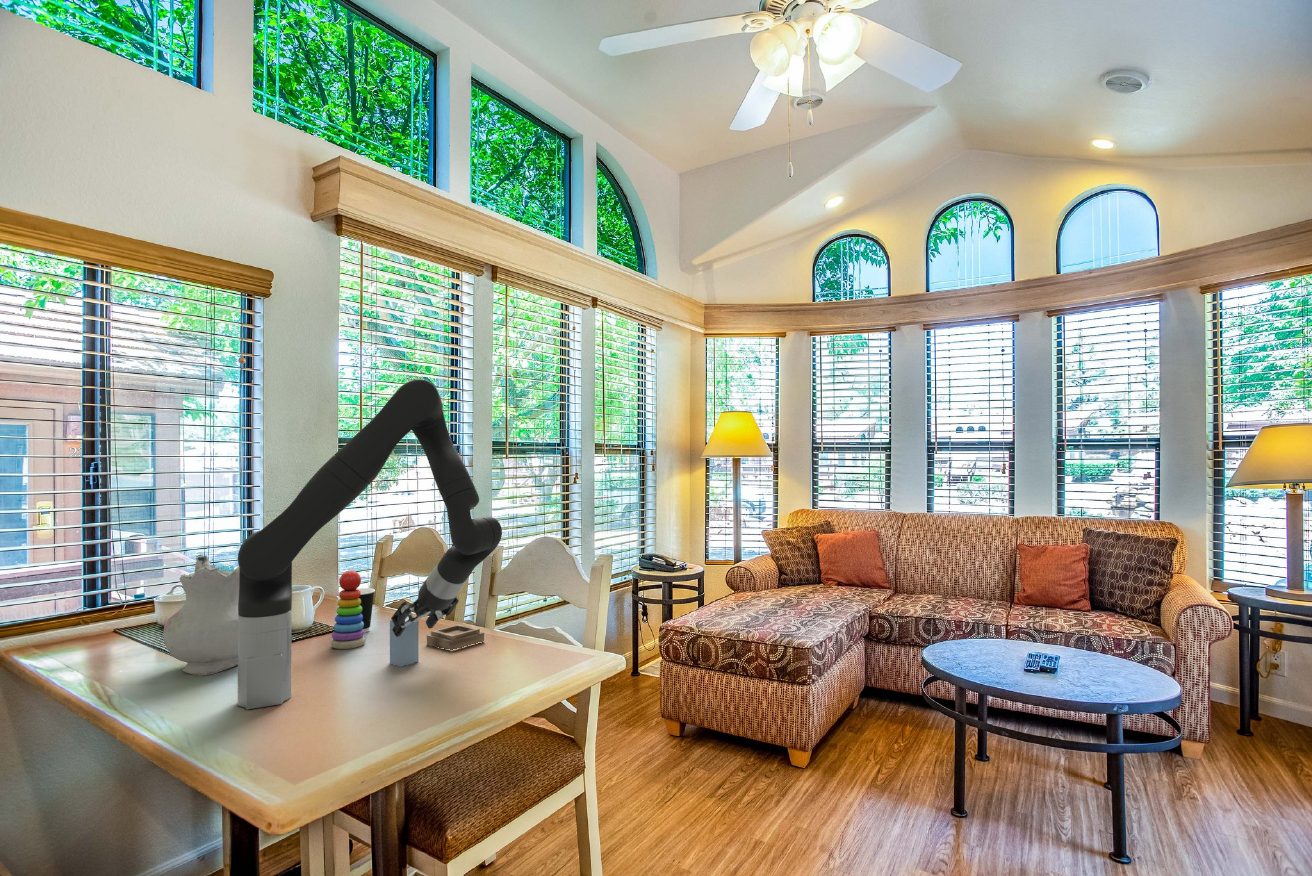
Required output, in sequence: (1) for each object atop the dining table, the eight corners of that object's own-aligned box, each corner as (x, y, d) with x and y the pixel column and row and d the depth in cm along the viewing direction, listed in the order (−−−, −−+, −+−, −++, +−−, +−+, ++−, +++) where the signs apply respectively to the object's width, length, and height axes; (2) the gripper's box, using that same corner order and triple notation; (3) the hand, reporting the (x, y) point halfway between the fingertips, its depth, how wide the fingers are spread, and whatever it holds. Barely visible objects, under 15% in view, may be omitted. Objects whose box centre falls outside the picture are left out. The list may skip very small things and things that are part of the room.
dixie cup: (377, 626, 194) (377, 587, 194) (372, 633, 186) (373, 592, 186) (346, 628, 192) (346, 588, 192) (341, 636, 184) (341, 594, 184)
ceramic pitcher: (142, 674, 156) (133, 565, 155) (229, 646, 173) (222, 547, 172) (197, 690, 146) (188, 573, 145) (284, 658, 163) (277, 553, 162)
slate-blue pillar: (418, 662, 161) (418, 618, 161) (401, 667, 157) (401, 622, 157) (406, 658, 163) (407, 616, 164) (389, 663, 160) (389, 620, 160)
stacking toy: (356, 650, 171) (357, 574, 171) (324, 650, 171) (325, 574, 171) (370, 641, 179) (370, 568, 179) (340, 641, 179) (340, 568, 179)
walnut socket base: (484, 642, 177) (484, 628, 177) (451, 651, 169) (451, 637, 169) (459, 636, 183) (459, 623, 183) (426, 645, 175) (426, 631, 175)
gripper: (462, 566, 159) (431, 610, 166) (407, 576, 148) (377, 622, 155) (477, 592, 156) (445, 635, 163) (422, 604, 145) (391, 650, 151)
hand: (412, 629), depth 159 cm, fingers open, 8 cm apart
